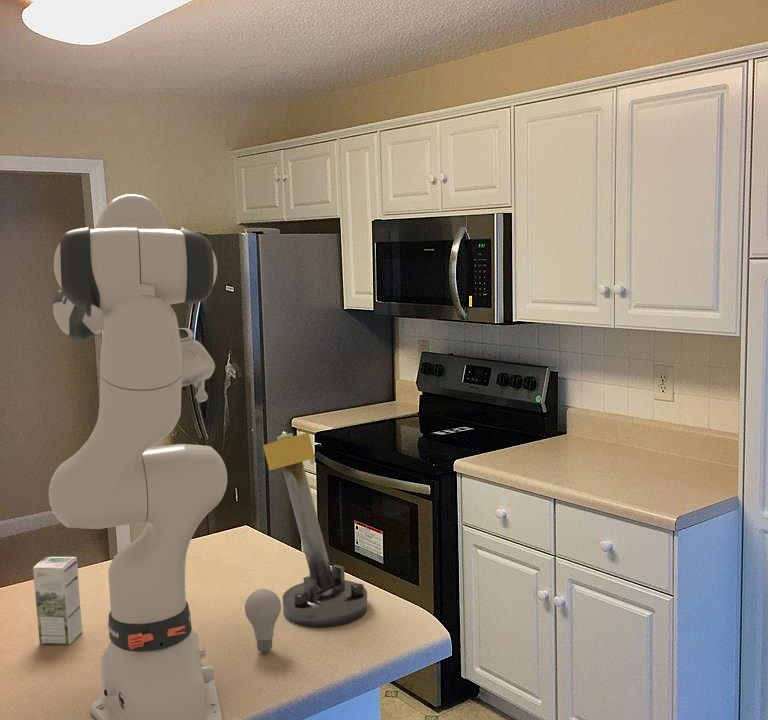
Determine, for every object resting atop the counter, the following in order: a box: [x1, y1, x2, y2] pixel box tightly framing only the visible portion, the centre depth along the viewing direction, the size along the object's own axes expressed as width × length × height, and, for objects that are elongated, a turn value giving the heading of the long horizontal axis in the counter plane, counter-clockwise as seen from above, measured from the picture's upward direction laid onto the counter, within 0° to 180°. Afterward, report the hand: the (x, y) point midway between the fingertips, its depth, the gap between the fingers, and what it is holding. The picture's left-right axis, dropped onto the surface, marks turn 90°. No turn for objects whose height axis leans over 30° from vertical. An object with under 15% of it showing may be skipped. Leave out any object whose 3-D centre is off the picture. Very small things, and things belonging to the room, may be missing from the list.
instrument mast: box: [262, 431, 339, 595], centre depth 166 cm, size 8×6×31 cm
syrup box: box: [32, 556, 83, 646], centre depth 155 cm, size 6×6×14 cm
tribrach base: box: [282, 564, 368, 629], centre depth 165 cm, size 16×16×7 cm
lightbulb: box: [244, 588, 282, 654], centre depth 148 cm, size 6×6×11 cm
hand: (182, 407), depth 162 cm, fingers open, 8 cm apart
